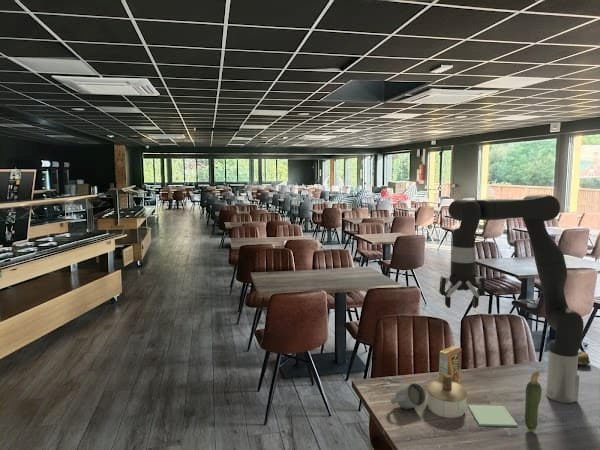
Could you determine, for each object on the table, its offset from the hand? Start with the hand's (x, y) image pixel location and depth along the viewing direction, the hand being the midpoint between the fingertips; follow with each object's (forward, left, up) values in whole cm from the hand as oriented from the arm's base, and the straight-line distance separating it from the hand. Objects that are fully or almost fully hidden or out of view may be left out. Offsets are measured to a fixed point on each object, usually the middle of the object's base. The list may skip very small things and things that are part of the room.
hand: (461, 307), depth 152 cm
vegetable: (-19, +12, -36) cm, 43 cm away
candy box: (-1, -15, -36) cm, 39 cm away
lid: (+4, 0, -30) cm, 30 cm away
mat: (-10, +4, -36) cm, 38 cm away
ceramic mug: (+18, +2, -36) cm, 41 cm away
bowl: (+4, 0, -36) cm, 36 cm away
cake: (-62, -44, -36) cm, 84 cm away
